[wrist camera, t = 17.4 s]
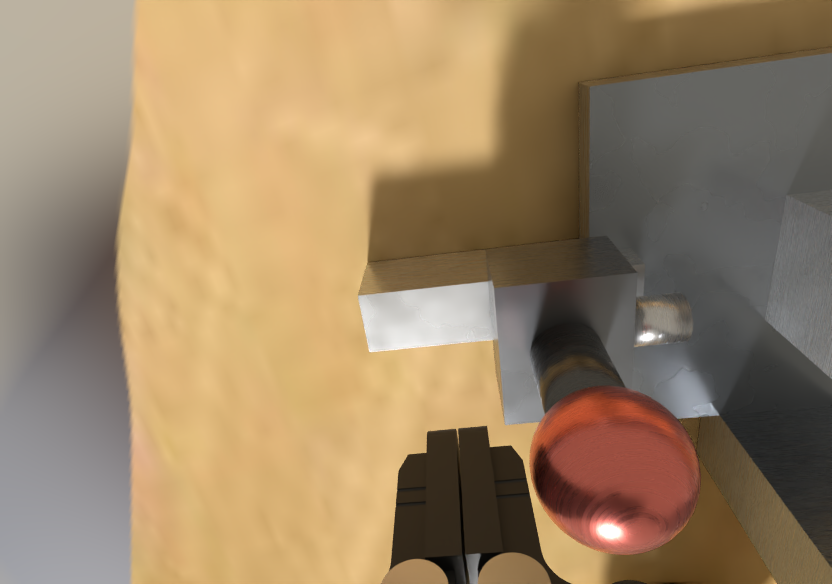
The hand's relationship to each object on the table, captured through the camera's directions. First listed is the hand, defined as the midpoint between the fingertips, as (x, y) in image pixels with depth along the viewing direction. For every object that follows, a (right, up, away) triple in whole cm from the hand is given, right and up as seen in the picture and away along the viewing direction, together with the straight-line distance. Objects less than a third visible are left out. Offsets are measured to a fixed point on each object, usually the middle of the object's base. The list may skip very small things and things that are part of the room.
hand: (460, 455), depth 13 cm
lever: (+5, +4, +5) cm, 8 cm away
